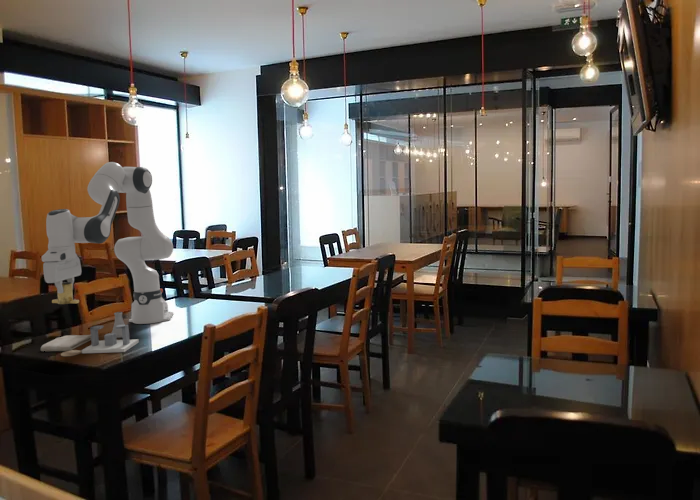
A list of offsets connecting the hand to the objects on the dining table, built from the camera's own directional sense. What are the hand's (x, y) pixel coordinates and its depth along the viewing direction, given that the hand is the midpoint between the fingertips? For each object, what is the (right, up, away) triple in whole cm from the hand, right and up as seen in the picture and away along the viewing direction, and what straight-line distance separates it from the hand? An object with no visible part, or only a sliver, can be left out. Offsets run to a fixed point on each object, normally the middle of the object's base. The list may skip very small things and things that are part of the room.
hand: (65, 291), depth 216 cm
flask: (+9, -21, +27) cm, 35 cm away
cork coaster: (+1, -23, +2) cm, 23 cm away
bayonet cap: (0, -4, +1) cm, 4 cm away
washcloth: (-7, -23, +16) cm, 29 cm away
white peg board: (+13, -22, +9) cm, 27 cm away
